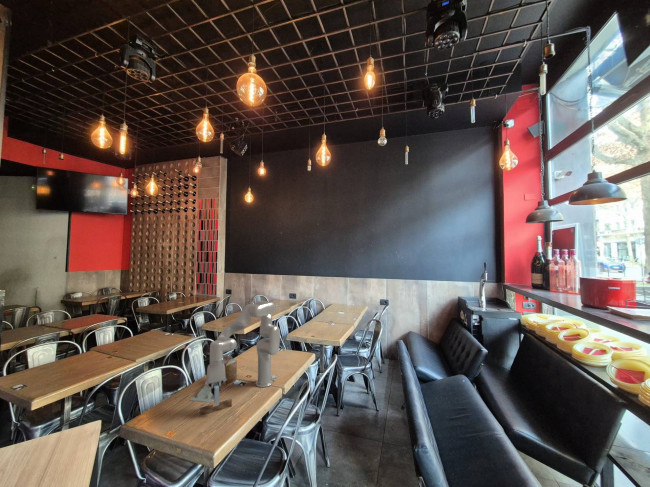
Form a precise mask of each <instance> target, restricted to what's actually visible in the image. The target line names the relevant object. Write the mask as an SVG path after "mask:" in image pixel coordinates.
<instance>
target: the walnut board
mask: <svg viewBox="0 0 650 487" xmlns="http://www.w3.org/2000/svg"><path fill="white" fill-rule="evenodd" d="M232 403H233V400H232V398H230V399H226V400H223V401H219V404H217V405H213V404H208V405H205V406H202V407H199V412H198V413H199V414H198V415H199V417H201V416H205V415H208V414H211V413H215V412H218V411H221V410H224V409H228V408H232V407H233V406H232V405H233V404H232Z"/></svg>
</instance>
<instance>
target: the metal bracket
mask: <svg viewBox="0 0 650 487" xmlns="http://www.w3.org/2000/svg"><path fill="white" fill-rule="evenodd" d="M189 401H190V402H201V403H208V404H210V403H212V401H214V400H213V398H212V393H211V387H210V386H207V385H204V386H203V387H202V388H201V389H200V390H199V391H198V393H197V394H196V395H195V396H191V398H190V399H189Z"/></svg>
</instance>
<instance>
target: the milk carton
mask: <svg viewBox="0 0 650 487" xmlns="http://www.w3.org/2000/svg"><path fill="white" fill-rule="evenodd" d="M223 358H224V359H226V360H225V361H224V366H225V377H226V379H227V380H226V381H225V382H223V383H222V385H221V386H224V387H227V386H228V385H230V384H232V383H234V382H235V381H237V380H238V379H237V378H238V377H237V376H238V374H237V373H238V370H237V369H238V361H237V360H236V359H234V358H233V357H232V356H231V355H227V354H223ZM217 384H218V382H217Z"/></svg>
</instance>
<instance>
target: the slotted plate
mask: <svg viewBox="0 0 650 487" xmlns="http://www.w3.org/2000/svg"><path fill="white" fill-rule="evenodd" d="M211 399H213V400H212V401H213V402H214V406H217V405H219V402H220V391H219V386H218V384H217V382H215V383H214V395H213V394H212V397H211Z"/></svg>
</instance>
